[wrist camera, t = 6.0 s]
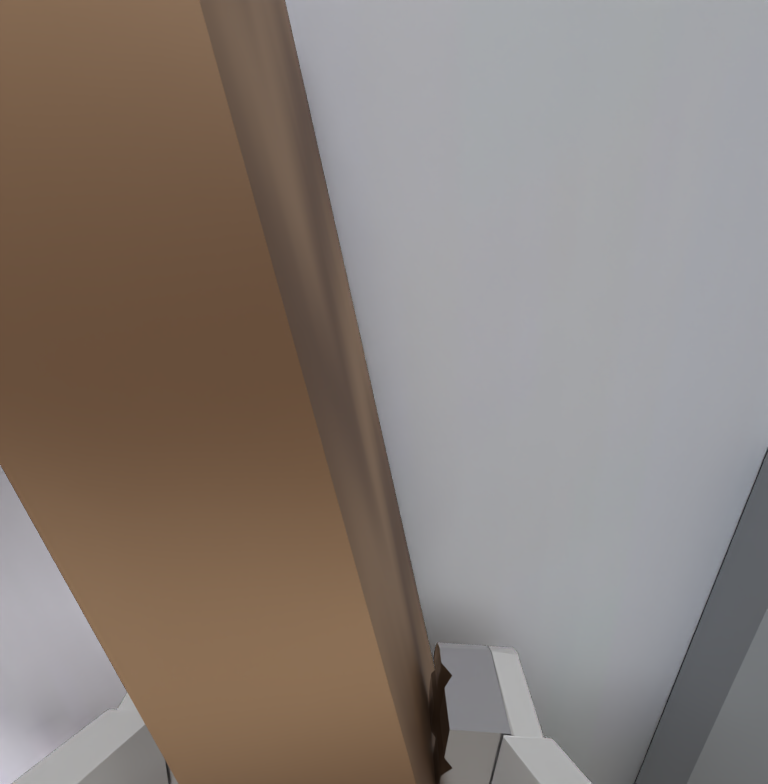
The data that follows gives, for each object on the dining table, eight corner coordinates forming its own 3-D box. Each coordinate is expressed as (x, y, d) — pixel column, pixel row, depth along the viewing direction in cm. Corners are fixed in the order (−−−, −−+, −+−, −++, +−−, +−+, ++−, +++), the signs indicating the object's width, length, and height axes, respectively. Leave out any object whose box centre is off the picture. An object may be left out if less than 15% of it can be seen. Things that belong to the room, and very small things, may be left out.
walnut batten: (91, -6, 7) (-561, -543, 2) (272, -56, 7) (-17, -782, 2) (387, 860, 15) (386, 1155, 10) (475, 852, 14) (517, 1150, 10)
